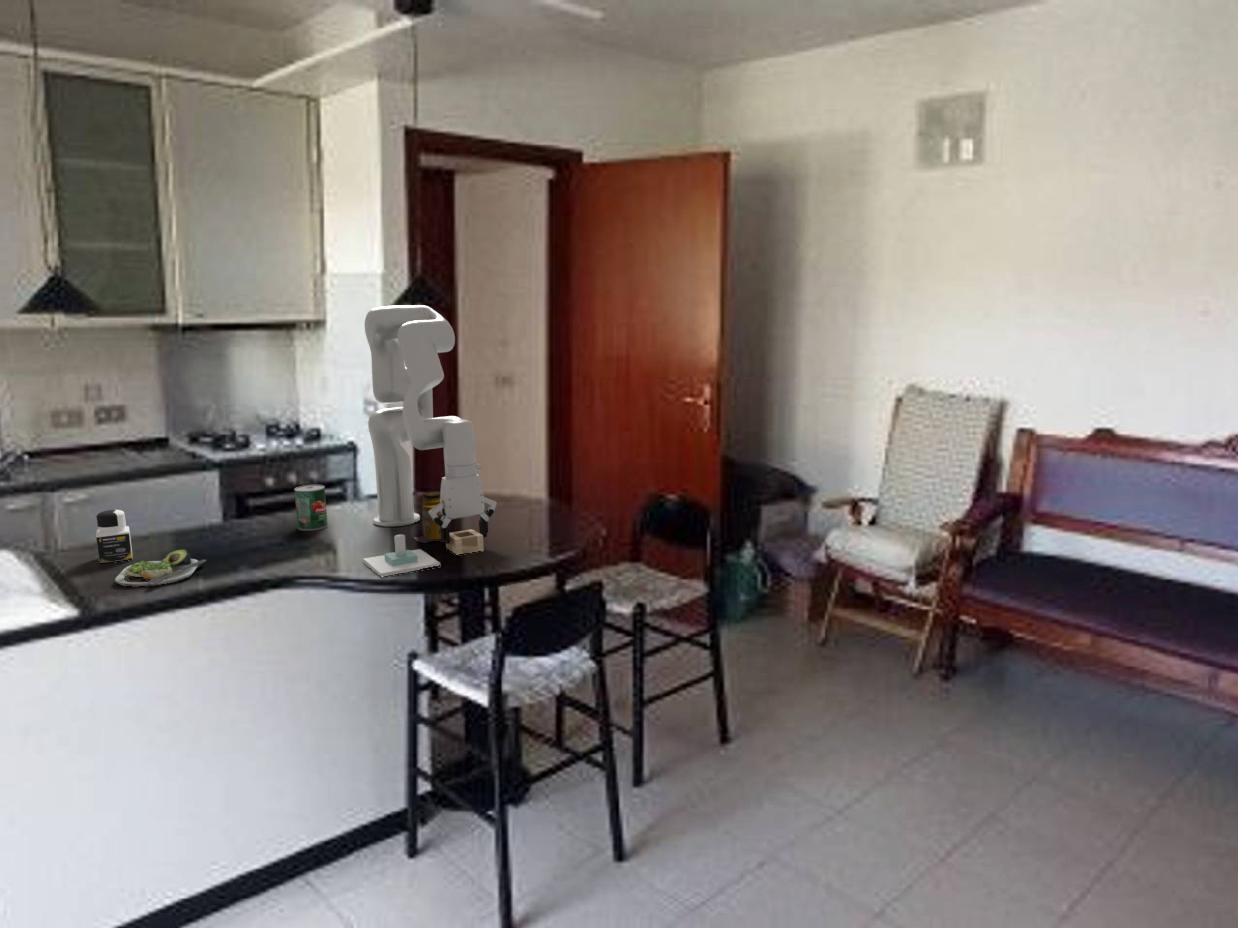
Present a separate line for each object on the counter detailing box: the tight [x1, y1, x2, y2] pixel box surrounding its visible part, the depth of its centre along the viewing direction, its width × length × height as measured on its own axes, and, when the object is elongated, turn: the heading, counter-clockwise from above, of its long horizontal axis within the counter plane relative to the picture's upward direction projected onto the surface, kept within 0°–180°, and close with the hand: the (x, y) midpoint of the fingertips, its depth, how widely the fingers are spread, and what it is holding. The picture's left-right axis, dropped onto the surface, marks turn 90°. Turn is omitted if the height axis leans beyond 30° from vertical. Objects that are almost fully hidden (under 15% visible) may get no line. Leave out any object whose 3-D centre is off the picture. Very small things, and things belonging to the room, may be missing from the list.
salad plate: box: [114, 549, 207, 588], centre depth 215 cm, size 19×18×5 cm
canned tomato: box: [293, 484, 329, 532], centre depth 256 cm, size 8×8×11 cm
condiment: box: [421, 490, 443, 540], centre depth 241 cm, size 7×8×12 cm
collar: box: [445, 528, 485, 556], centre depth 231 cm, size 7×7×4 cm
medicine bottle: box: [95, 509, 133, 562], centre depth 229 cm, size 7×7×12 cm
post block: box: [362, 534, 441, 577], centre depth 219 cm, size 14×14×7 cm
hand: (465, 539), depth 230 cm, fingers open, 9 cm apart
